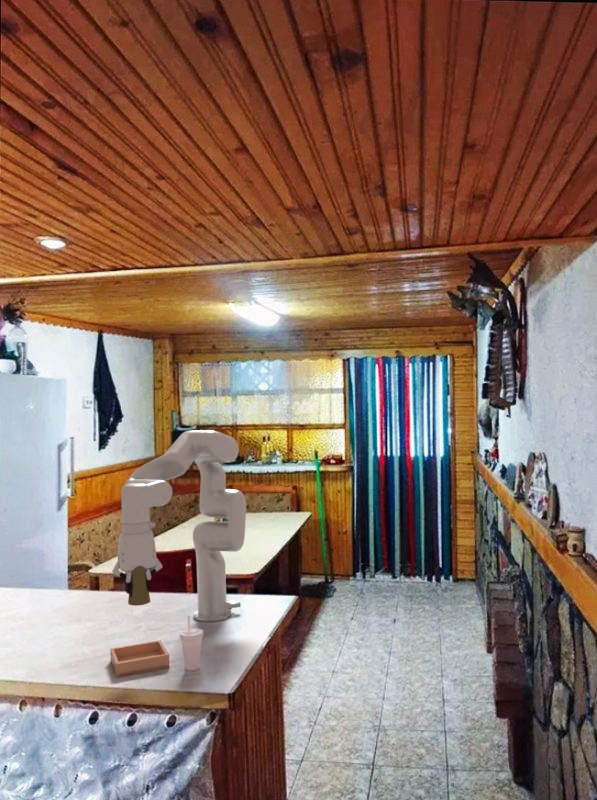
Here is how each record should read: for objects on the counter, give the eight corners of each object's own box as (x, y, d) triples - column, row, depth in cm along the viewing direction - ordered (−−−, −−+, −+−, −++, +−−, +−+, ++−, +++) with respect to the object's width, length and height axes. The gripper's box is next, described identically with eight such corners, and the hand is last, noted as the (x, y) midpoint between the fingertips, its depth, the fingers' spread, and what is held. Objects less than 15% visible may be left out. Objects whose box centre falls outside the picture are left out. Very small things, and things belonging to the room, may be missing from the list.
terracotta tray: (160, 652, 188) (160, 640, 188) (169, 667, 177) (169, 654, 177) (110, 661, 182) (110, 648, 182) (116, 677, 171) (116, 664, 171)
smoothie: (181, 663, 179) (180, 612, 179) (205, 662, 180) (203, 611, 180) (179, 673, 173) (177, 620, 173) (203, 671, 173) (202, 619, 173)
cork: (144, 605, 176) (143, 565, 176) (124, 605, 177) (122, 564, 177) (154, 599, 182) (152, 559, 182) (133, 598, 183) (132, 559, 183)
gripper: (163, 523, 186) (165, 587, 186) (103, 529, 180) (105, 595, 180) (169, 527, 180) (171, 594, 179) (107, 534, 173) (109, 602, 173)
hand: (138, 594), depth 180 cm, fingers closed on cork, 3 cm apart
